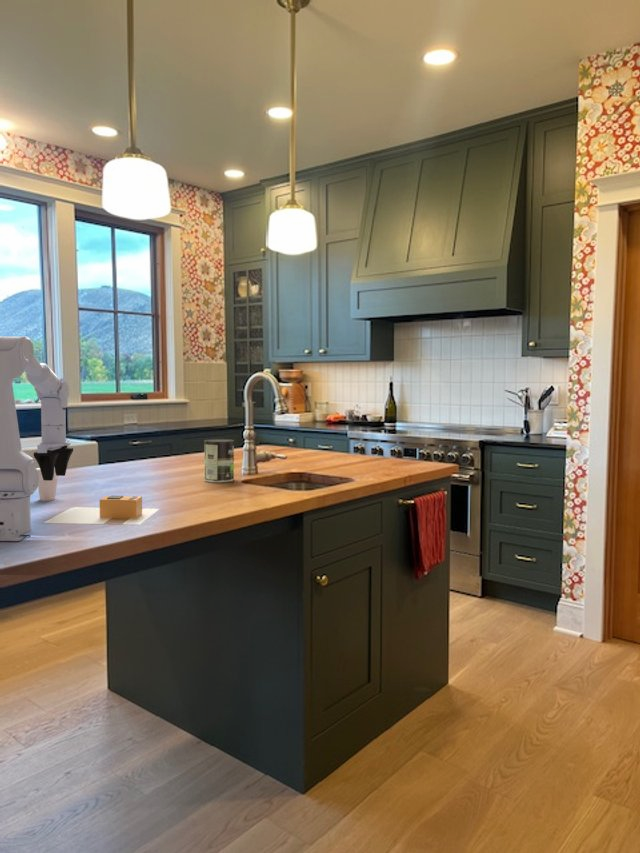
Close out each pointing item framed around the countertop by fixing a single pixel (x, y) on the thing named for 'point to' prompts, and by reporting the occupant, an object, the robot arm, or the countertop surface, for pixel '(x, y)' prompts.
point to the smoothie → (47, 487)
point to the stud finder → (120, 506)
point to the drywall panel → (97, 517)
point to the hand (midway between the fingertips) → (54, 477)
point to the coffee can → (219, 460)
